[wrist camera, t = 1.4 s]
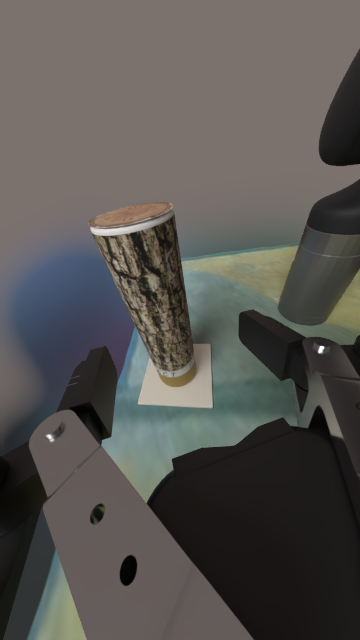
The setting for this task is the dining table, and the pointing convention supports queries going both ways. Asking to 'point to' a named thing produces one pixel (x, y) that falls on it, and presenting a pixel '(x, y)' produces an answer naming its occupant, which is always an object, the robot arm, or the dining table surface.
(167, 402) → the card
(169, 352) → the brown bark cylinder
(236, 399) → the dining table surface
